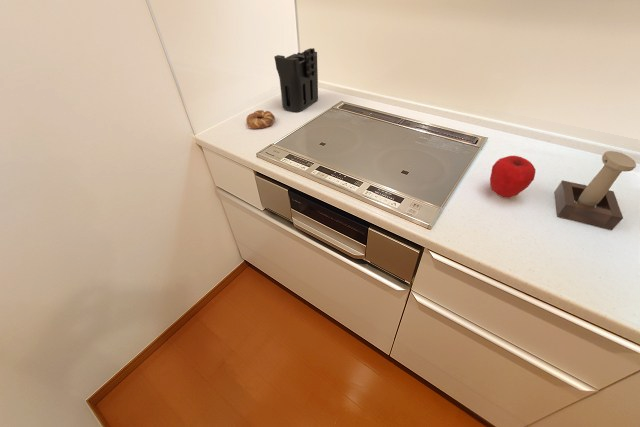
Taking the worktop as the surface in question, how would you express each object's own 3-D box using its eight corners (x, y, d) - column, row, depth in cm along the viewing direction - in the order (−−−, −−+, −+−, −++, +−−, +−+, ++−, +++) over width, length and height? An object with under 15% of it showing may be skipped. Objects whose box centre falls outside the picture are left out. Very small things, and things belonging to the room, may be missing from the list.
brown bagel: (259, 133, 110) (258, 123, 107) (239, 125, 115) (237, 116, 112) (281, 121, 117) (280, 112, 114) (261, 114, 122) (260, 105, 119)
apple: (484, 179, 85) (499, 145, 78) (522, 187, 82) (541, 153, 74) (481, 198, 79) (496, 164, 72) (521, 209, 75) (542, 173, 68)
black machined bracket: (279, 109, 125) (272, 52, 110) (305, 93, 138) (302, 40, 123) (302, 115, 120) (298, 56, 106) (327, 98, 133) (327, 43, 119)
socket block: (603, 203, 76) (613, 191, 74) (612, 230, 69) (623, 218, 66) (554, 192, 80) (561, 180, 78) (557, 216, 73) (565, 204, 70)
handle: (576, 217, 73) (616, 165, 63) (564, 201, 77) (600, 150, 67) (598, 219, 72) (642, 167, 62) (585, 202, 77) (623, 151, 67)
